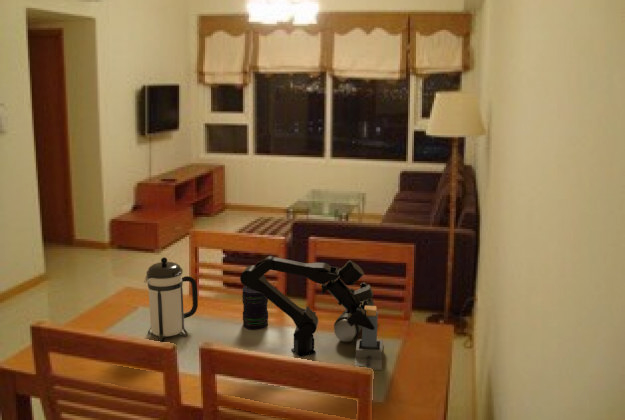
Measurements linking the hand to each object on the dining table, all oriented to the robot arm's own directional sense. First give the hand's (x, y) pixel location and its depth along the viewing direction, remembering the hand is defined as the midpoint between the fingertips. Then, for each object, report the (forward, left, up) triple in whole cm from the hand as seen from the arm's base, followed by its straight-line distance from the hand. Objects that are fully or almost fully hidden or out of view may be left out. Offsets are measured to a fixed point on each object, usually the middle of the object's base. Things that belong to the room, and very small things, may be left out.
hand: (373, 325), depth 205 cm
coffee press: (-54, +54, -11) cm, 77 cm away
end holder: (-1, +1, -11) cm, 11 cm away
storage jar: (-23, +45, -11) cm, 52 cm away
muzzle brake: (+7, +21, -11) cm, 25 cm away
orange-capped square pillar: (-1, +1, -7) cm, 7 cm away
